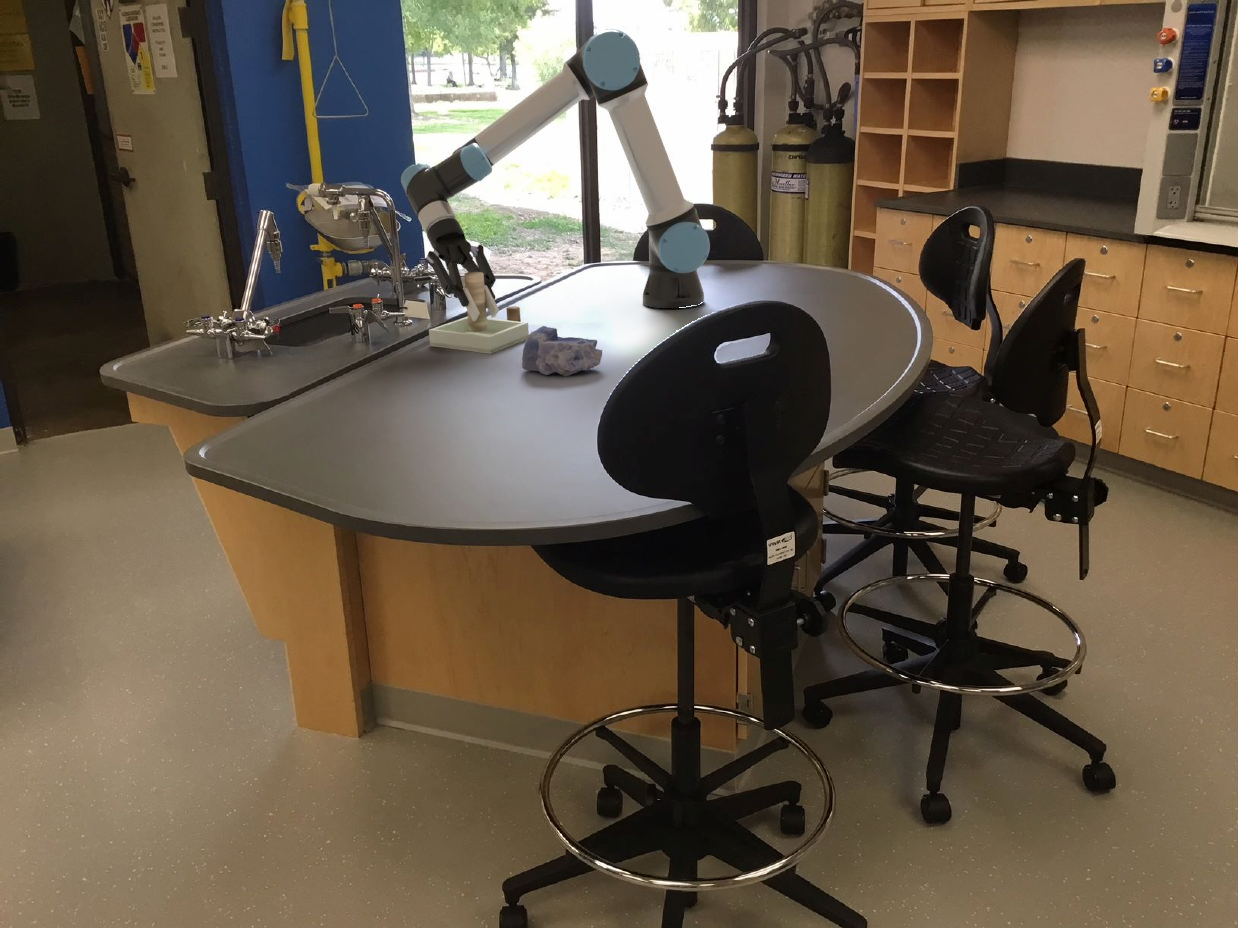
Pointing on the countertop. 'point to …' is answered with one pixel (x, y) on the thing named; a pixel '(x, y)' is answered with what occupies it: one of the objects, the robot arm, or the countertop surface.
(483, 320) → the dowel
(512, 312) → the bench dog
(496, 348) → the tray
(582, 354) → the mineral
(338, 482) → the countertop surface
